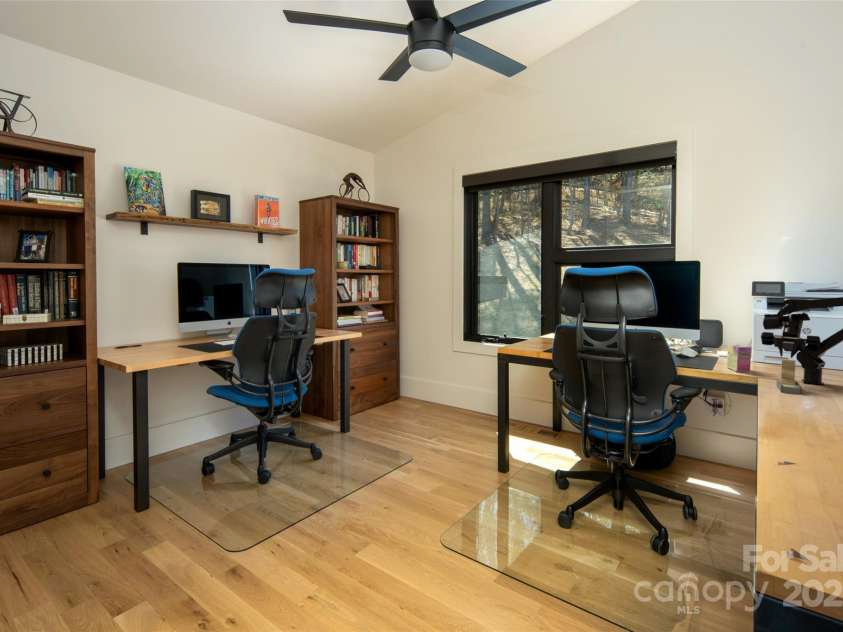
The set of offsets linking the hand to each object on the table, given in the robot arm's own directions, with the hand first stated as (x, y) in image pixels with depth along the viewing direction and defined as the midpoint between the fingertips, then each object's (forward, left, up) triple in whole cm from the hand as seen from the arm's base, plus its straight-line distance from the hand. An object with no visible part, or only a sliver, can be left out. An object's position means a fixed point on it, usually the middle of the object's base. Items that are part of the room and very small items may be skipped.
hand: (786, 356), depth 184 cm
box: (-28, -14, -12) cm, 33 cm away
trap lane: (+9, 0, -11) cm, 15 cm away
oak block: (+7, 0, -9) cm, 12 cm away
